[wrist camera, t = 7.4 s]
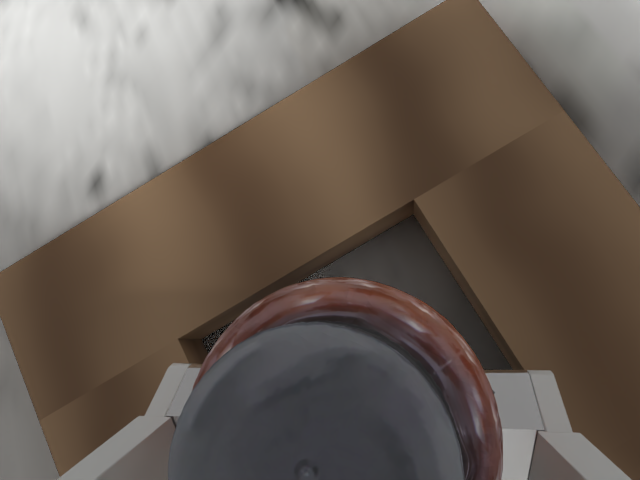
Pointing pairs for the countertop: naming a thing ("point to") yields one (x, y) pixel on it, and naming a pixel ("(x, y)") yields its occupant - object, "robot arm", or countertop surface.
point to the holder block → (352, 235)
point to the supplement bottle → (339, 393)
